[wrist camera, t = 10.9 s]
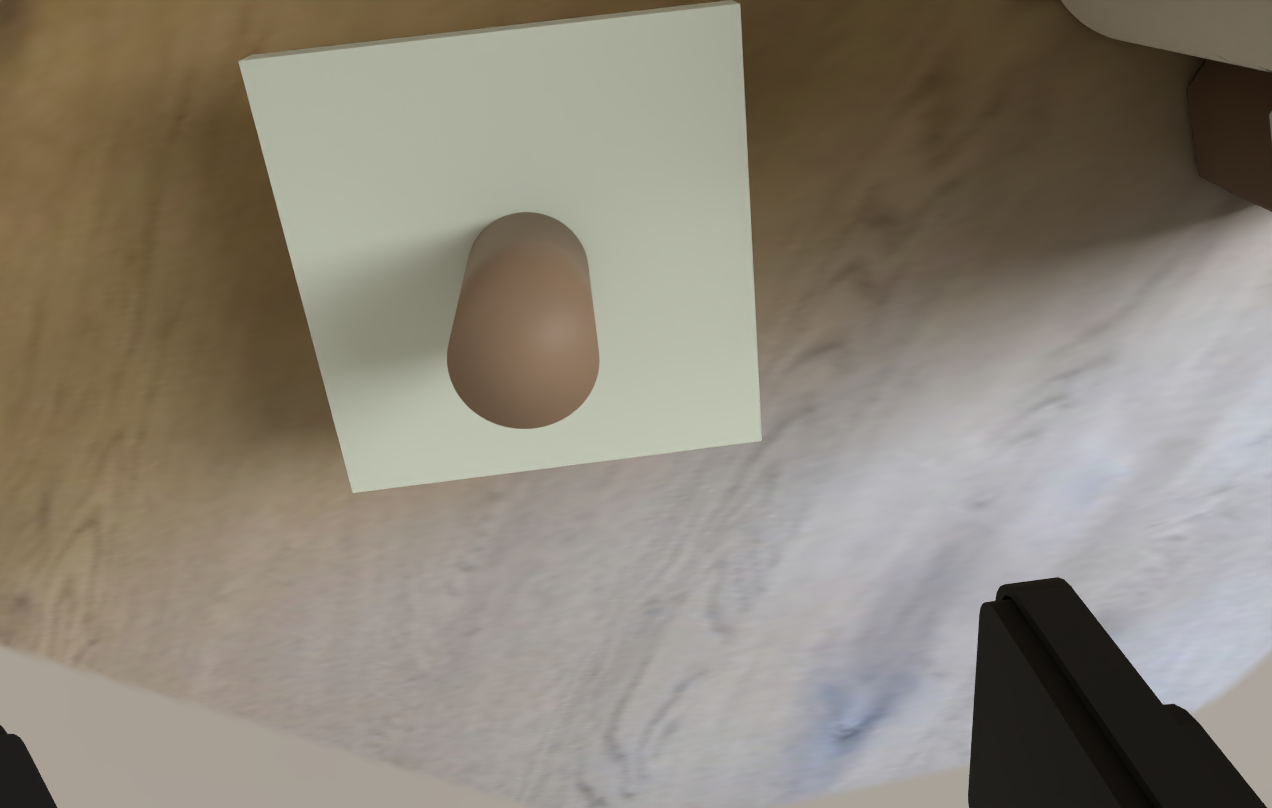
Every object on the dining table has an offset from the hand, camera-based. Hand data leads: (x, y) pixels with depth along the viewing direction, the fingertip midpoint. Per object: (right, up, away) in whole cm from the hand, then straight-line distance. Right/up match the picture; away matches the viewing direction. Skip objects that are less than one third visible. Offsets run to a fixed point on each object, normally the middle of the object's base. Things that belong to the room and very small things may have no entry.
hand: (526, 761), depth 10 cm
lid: (-2, +8, +18) cm, 19 cm away
